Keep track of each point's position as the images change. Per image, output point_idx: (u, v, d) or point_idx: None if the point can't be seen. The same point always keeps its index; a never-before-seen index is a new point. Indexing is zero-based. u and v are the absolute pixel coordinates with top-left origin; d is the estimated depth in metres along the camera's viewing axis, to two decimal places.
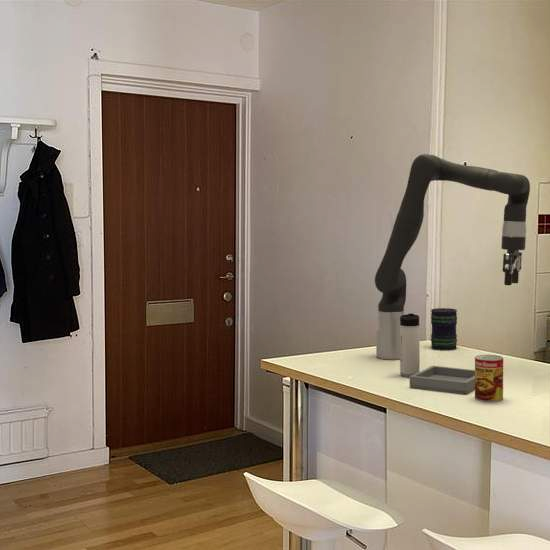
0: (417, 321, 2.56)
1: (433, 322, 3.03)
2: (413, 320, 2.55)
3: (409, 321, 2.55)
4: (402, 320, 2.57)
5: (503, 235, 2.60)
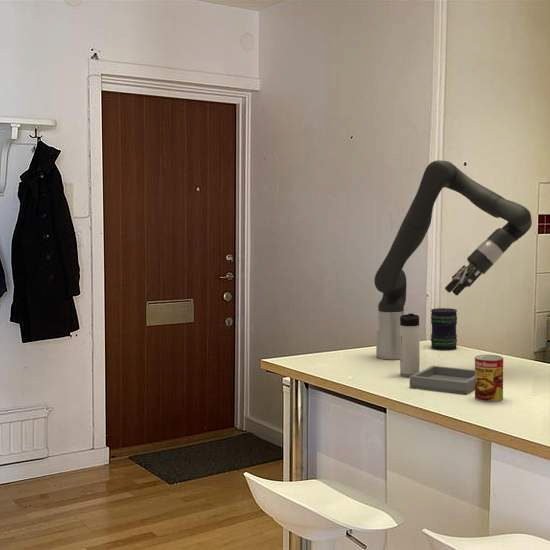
0: (417, 321, 2.56)
1: (433, 322, 3.03)
2: (413, 320, 2.55)
3: (409, 321, 2.55)
4: (402, 320, 2.57)
5: (481, 251, 2.56)
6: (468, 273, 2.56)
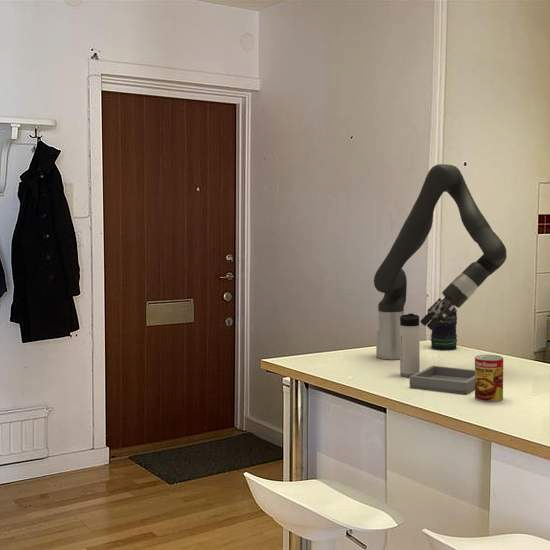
0: (417, 321, 2.56)
1: None
2: (413, 320, 2.55)
3: (409, 321, 2.55)
4: (402, 320, 2.57)
5: (456, 285, 2.56)
6: (443, 307, 2.56)
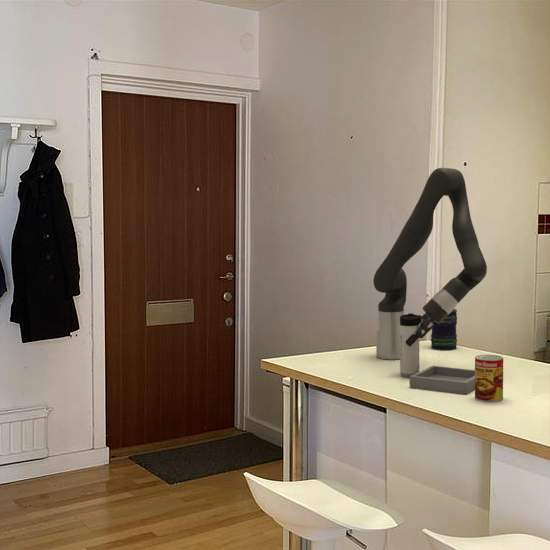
0: (417, 321, 2.56)
1: (433, 322, 3.03)
2: (413, 320, 2.55)
3: (409, 321, 2.55)
4: (402, 320, 2.57)
5: (436, 301, 2.56)
6: (423, 323, 2.55)
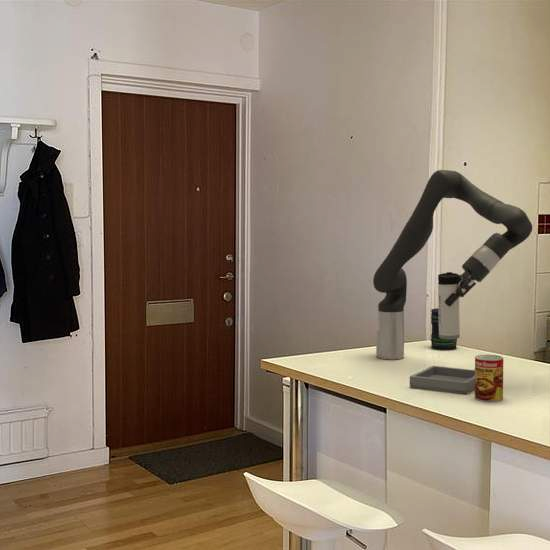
0: (457, 279, 2.40)
1: (433, 322, 3.03)
2: (452, 278, 2.40)
3: (448, 279, 2.40)
4: (440, 278, 2.41)
5: (477, 258, 2.40)
6: (463, 281, 2.40)
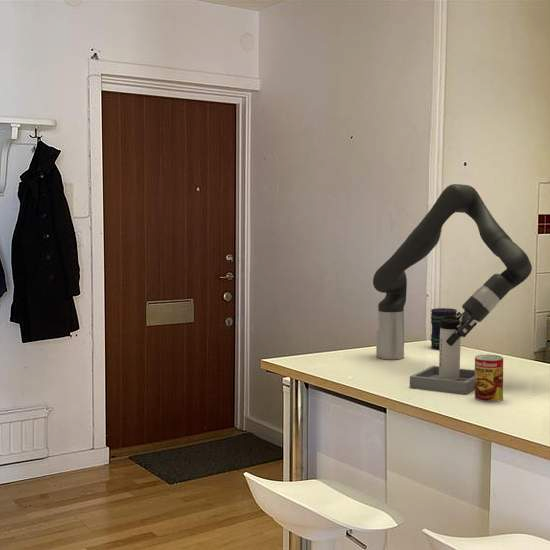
0: None
1: (433, 322, 3.03)
2: (455, 323, 2.41)
3: (450, 324, 2.41)
4: (443, 323, 2.42)
5: (477, 298, 2.41)
6: (463, 322, 2.41)
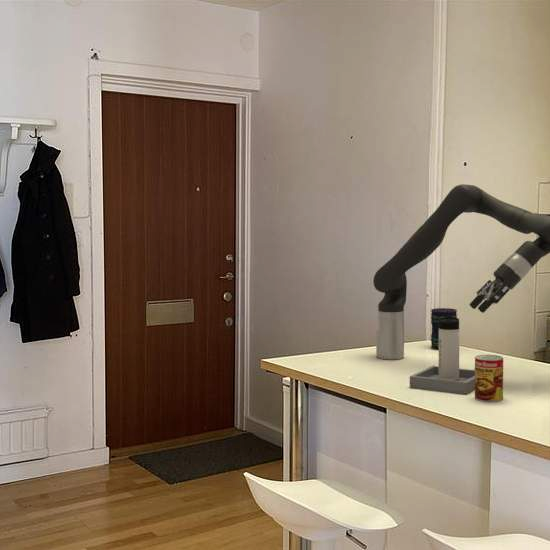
0: (457, 324, 2.42)
1: (433, 322, 3.03)
2: (453, 323, 2.41)
3: (449, 324, 2.41)
4: (441, 323, 2.42)
5: (509, 265, 2.41)
6: (495, 289, 2.40)
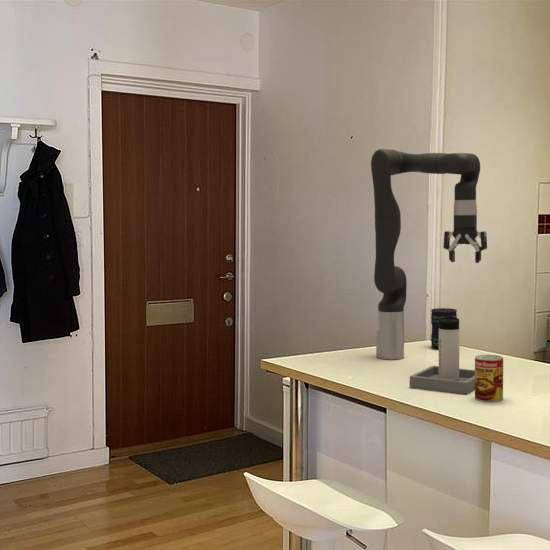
0: (457, 324, 2.42)
1: (433, 322, 3.03)
2: (453, 323, 2.41)
3: (449, 324, 2.41)
4: (441, 323, 2.42)
5: (469, 214, 2.60)
6: (473, 238, 2.62)
